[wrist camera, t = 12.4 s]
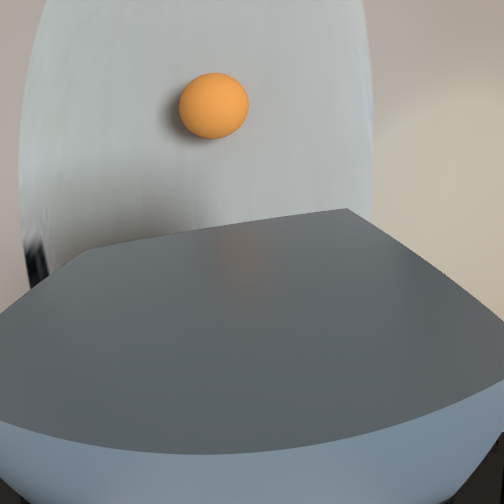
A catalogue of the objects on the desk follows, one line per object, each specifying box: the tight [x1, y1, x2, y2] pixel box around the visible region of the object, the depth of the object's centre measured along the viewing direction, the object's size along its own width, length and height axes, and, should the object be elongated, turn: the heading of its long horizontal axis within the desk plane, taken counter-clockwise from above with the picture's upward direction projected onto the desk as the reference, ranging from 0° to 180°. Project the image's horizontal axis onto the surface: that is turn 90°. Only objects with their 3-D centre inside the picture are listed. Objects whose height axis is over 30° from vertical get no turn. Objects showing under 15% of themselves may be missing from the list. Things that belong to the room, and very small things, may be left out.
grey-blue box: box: [0, 208, 504, 504], centre depth 8 cm, size 10×10×9 cm
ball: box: [179, 73, 248, 139], centre depth 20 cm, size 5×5×5 cm
